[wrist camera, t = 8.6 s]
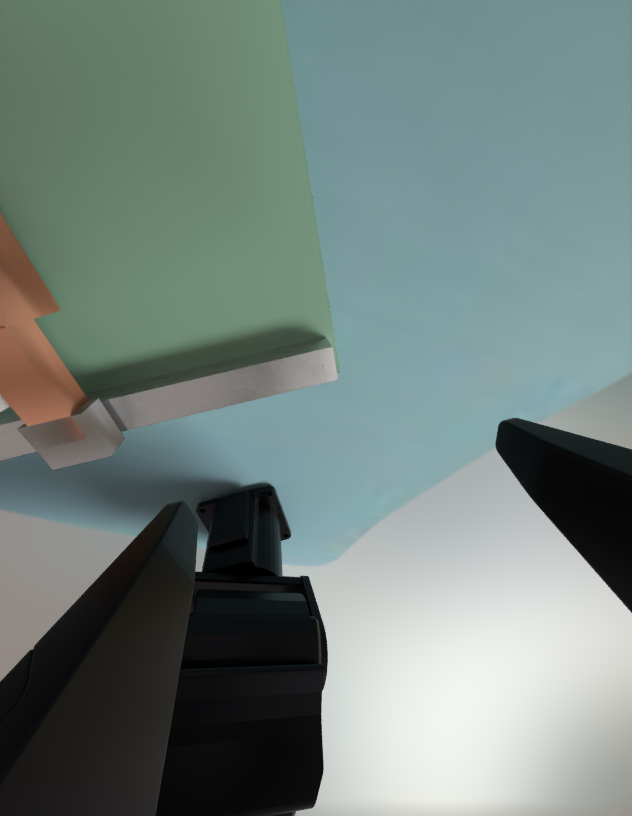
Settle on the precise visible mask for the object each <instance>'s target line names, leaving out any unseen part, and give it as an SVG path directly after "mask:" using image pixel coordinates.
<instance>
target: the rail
mask: <svg viewBox="0 0 632 816" xmlns="http://www.w3.org/2000/svg"><path fill="white" fill-rule="evenodd" d="M335 380H338V377H337V371H336V365H335V358H334V352H333V347H332V345H331V344H330V342H329V341H328V339H327V338H326V337H324V338H319V339H315V340H311V341H307V342H302V343H298V344H294V345H289V346H285V347H281V348H277V349H272V350H268V351H264V352H260V353H255V354H251V355H247V356H242V357H238V358H234V359H230V360H225V361H221V362H217V363H213V364H208V365H204V366H200V367H195V368H191V369H187V370H183V371H178V372H174V373H170V374H166V375H161V376H157V377H153V378H148V379H144V380H140V381H136V382H131V383H127V384H123V385H118V386H114V387H110V388H106V389H101V390H97V391H93V392H89V393H84V394H85V395H86V397H87V398H88V400H93V399H97V398H99V400H100V401H101V403H102V404H103V406H104V407H105V409H106V410H107V412H108V413H109V415H110V416H111V418H112V419H113V421H114V422H115V424H116V425H117V427H118V428H119V430H120V431H121V432H122V431H126V430H130V429H134V428H138V427H142V426H147V425H151V424H155V423H159V422H163V421H167V420H172V419H176V418H180V417H184V416H188V415H193V414H197V413H201V412H205V411H209V410H213V409H218V408H222V407H226V406H230V405H234V404H239V403H243V402H247V401H251V400H255V399H259V398H264V397H268V396H272V395H276V394H280V393H284V392H289V391H293V390H297V389H301V388H305V387H310V386H314V385H318V384H322V383H326V382H330V381H335ZM23 424H24V422H23V421H22V419H21V418H20V417H19V416H18V415H17V413H16V412H15V411H14V410H12V411H7V412H3V413H0V460H5V459H9V458H13V457H17V456H21V455H25V454H30V453H34V452H37V451H36V450H35V449H34V448H33V447H32V446H31V445H30V443H29V442H28V441H27V440H26V439H25V438H24V437H23V436H22V434H21V433H20V432H19V431H18V430H17V428H19V427H20V426H21V425H23Z"/></svg>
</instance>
